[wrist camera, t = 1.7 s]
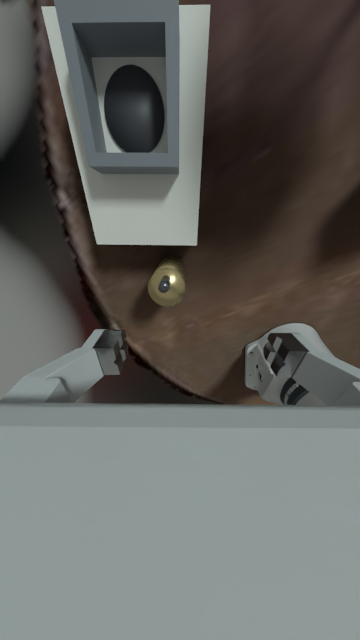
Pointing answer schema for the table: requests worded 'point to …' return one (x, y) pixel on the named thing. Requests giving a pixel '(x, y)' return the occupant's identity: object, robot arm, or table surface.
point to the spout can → (168, 282)
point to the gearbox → (135, 112)
